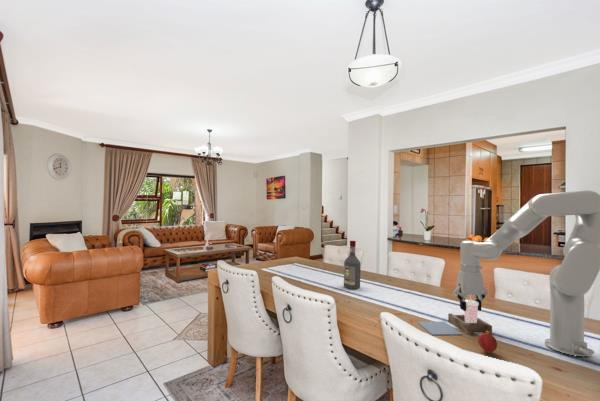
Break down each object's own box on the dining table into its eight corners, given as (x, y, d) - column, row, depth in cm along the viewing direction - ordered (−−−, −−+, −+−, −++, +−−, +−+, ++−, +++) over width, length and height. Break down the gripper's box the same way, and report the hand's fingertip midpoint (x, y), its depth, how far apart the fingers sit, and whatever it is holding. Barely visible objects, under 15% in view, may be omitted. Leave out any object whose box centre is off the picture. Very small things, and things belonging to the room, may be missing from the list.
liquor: (350, 284, 194) (351, 239, 194) (361, 287, 187) (362, 241, 187) (341, 286, 188) (342, 240, 188) (352, 290, 181) (353, 242, 181)
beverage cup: (459, 320, 129) (459, 289, 130) (469, 319, 132) (469, 287, 132) (472, 325, 124) (471, 292, 124) (482, 324, 126) (481, 291, 126)
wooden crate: (492, 334, 121) (492, 325, 121) (467, 334, 121) (467, 325, 121) (470, 321, 135) (470, 313, 135) (448, 321, 135) (448, 313, 135)
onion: (479, 347, 110) (479, 326, 110) (497, 352, 106) (498, 330, 106) (476, 353, 105) (477, 330, 105) (496, 358, 101) (496, 335, 102)
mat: (462, 335, 120) (462, 334, 120) (432, 335, 119) (432, 334, 119) (444, 322, 133) (444, 321, 133) (417, 322, 132) (417, 321, 132)
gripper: (482, 266, 133) (483, 306, 132) (446, 267, 132) (446, 307, 131) (495, 270, 125) (495, 312, 125) (456, 270, 124) (457, 313, 123)
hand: (470, 309), depth 128 cm, fingers closed on beverage cup, 6 cm apart
